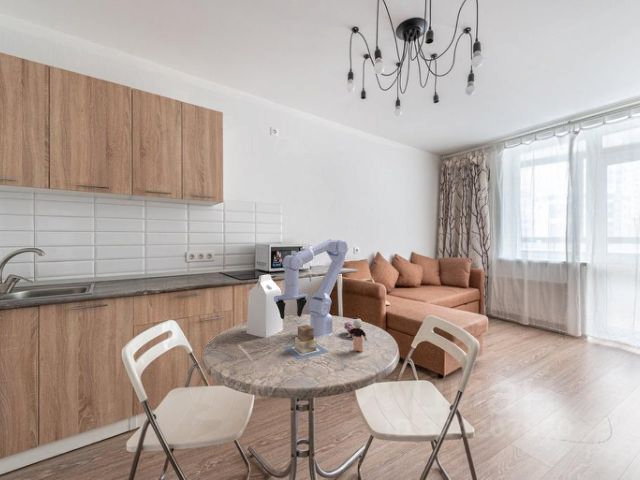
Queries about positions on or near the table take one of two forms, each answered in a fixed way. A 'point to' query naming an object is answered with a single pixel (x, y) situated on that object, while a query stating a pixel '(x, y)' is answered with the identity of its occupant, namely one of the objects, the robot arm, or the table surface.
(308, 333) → the walnut cube
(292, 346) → the board
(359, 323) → the grandmother figurine
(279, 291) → the milk
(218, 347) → the table surface
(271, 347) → the table surface
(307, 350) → the maple block
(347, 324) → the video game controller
